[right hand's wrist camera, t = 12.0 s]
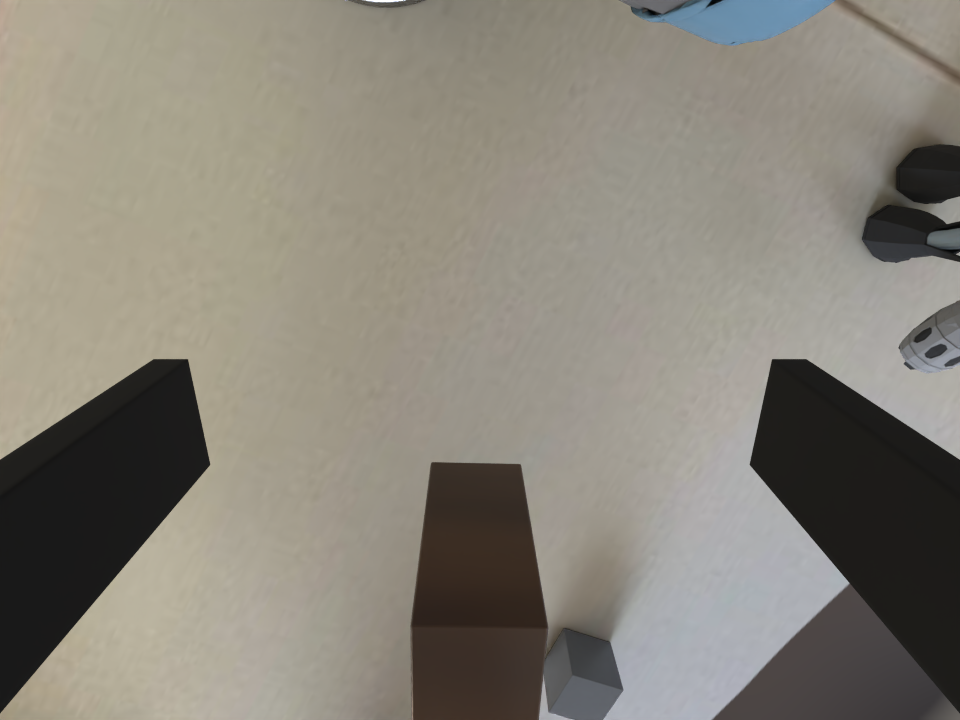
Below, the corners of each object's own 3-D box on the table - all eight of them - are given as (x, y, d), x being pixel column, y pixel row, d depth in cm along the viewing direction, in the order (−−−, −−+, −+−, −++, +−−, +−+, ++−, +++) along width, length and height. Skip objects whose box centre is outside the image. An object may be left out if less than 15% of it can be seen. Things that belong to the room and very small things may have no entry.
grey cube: (563, 627, 52) (572, 674, 47) (610, 642, 52) (623, 690, 48) (542, 663, 53) (548, 712, 49) (587, 677, 54) (598, 727, 49)
